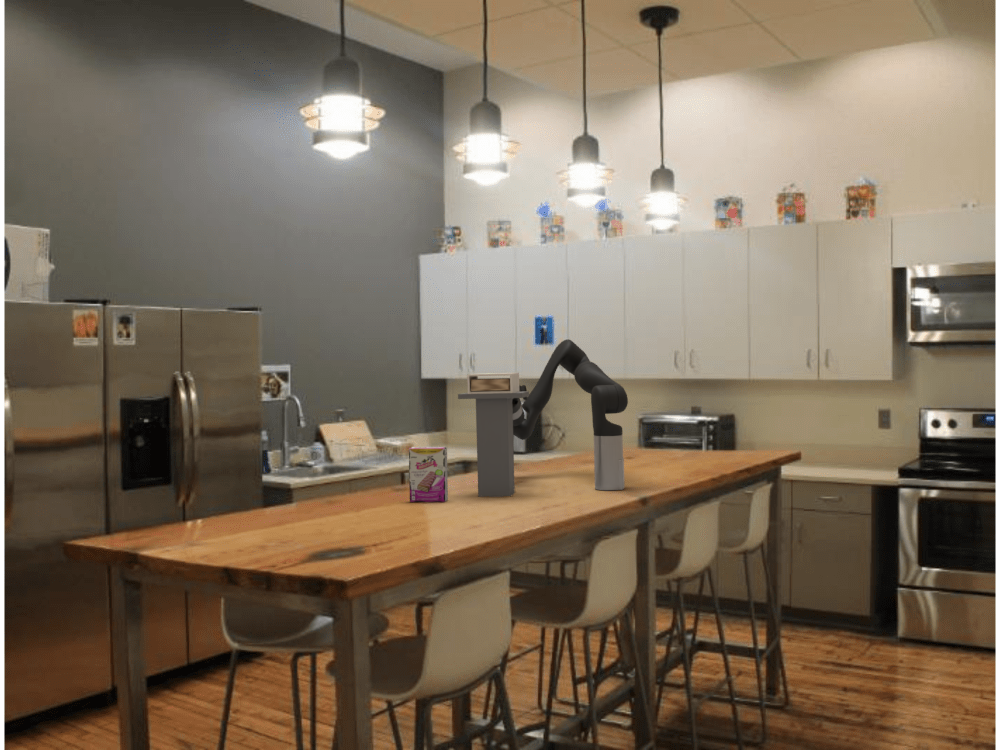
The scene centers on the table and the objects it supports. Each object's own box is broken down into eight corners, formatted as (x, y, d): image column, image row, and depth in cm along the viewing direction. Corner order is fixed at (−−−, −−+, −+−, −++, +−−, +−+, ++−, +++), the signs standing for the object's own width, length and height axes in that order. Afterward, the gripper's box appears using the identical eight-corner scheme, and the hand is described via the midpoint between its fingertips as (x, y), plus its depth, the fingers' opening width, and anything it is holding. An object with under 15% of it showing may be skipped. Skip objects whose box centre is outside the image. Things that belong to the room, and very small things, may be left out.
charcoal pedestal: (531, 492, 313) (529, 391, 312) (524, 497, 300) (521, 392, 300) (470, 491, 317) (467, 392, 316) (460, 497, 304) (457, 394, 304)
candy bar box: (409, 502, 296) (407, 448, 296) (412, 500, 301) (411, 446, 301) (446, 502, 295) (444, 447, 295) (448, 499, 300) (447, 446, 300)
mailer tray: (522, 387, 323) (521, 377, 323) (509, 390, 301) (509, 379, 301) (486, 388, 325) (486, 378, 325) (471, 390, 304) (470, 379, 304)
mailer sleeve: (519, 391, 313) (518, 372, 312) (512, 393, 301) (511, 373, 301) (476, 392, 315) (475, 373, 315) (467, 393, 304) (467, 374, 303)
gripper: (490, 395, 337) (481, 372, 323) (531, 394, 334) (523, 371, 320) (488, 415, 334) (479, 392, 320) (530, 414, 331) (522, 392, 317)
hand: (501, 382), depth 320 cm, fingers open, 8 cm apart
